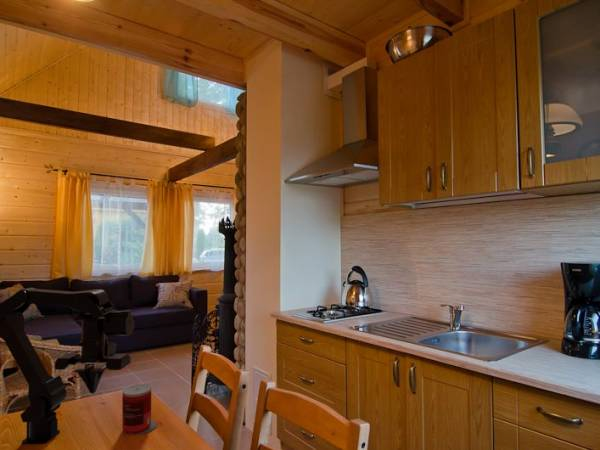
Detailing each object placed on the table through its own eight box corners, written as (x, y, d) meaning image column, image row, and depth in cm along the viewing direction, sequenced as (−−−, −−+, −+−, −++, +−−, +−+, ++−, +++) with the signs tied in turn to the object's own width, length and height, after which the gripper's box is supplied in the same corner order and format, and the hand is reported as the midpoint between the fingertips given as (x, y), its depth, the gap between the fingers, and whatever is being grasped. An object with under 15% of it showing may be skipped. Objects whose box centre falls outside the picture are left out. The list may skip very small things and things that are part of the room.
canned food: (145, 418, 115) (145, 381, 115) (155, 428, 109) (155, 389, 109) (118, 427, 110) (118, 388, 110) (127, 437, 104) (128, 396, 104)
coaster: (122, 434, 106) (122, 433, 106) (136, 420, 114) (136, 420, 114) (150, 434, 106) (150, 434, 106) (162, 421, 113) (162, 420, 114)
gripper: (140, 329, 113) (139, 382, 113) (79, 329, 114) (79, 381, 114) (120, 338, 102) (119, 397, 102) (53, 338, 103) (52, 397, 103)
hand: (93, 392), depth 105 cm, fingers closed
